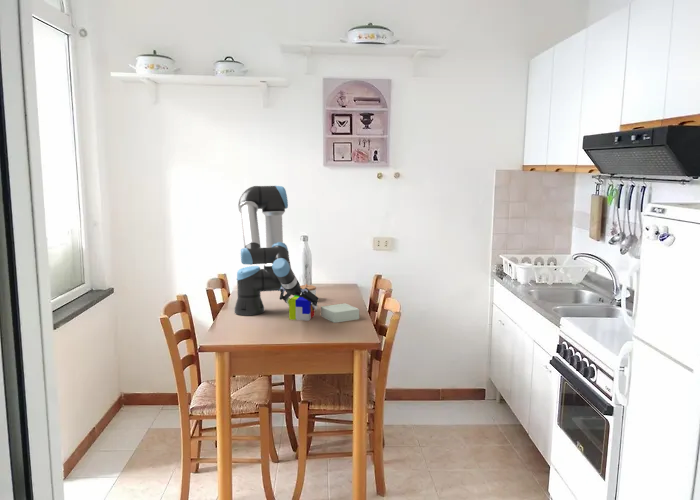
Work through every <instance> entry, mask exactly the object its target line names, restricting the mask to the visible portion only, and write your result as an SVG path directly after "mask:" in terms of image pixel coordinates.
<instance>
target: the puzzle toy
mask: <svg viewBox="0 0 700 500" xmlns="http://www.w3.org/2000/svg"><path fill="white" fill-rule="evenodd" d="M288 315H289V316H288V317H289V319H288V320H289V321H290V320H292V321H310V320H311V319H313V317H314V316H315V310H314V308H313V306H312V304H311V302H310V301H308V300H306V299H305V298H303V297H299V296H296V295H295V296H293V295H292V297H290V299H289V306H288Z"/></svg>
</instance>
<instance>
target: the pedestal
mask: <svg viewBox="0 0 700 500" xmlns="http://www.w3.org/2000/svg"><path fill="white" fill-rule="evenodd" d="M320 317H321V318H323V319H326V320H327V321H329V322H332V323H334V324H335V323H336V324H337V323H342V322H348V321H354V320H360V308H357V307H355V306H352V305H350V304H348V303H339V304H338V303H337V304H332V305H324V306H322V305H321V306H320Z"/></svg>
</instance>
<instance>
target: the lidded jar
mask: <svg viewBox="0 0 700 500" xmlns="http://www.w3.org/2000/svg"><path fill="white" fill-rule="evenodd" d="M300 287H301V288H302V289H305V288H308V290H309V291H310V292H312V293H313V294H314V295H315V296H316V293H317V286H315V285H313V284H307V283H305V284H304V285H301V284H300ZM301 294H302V293H301ZM301 294H300V295H301Z"/></svg>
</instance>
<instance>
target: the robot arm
mask: <svg viewBox="0 0 700 500" xmlns="http://www.w3.org/2000/svg"><path fill="white" fill-rule="evenodd" d="M237 207H238V211H239V212H240V213H239V214H240V216H241V225H242V227H241V228H242V237H243V238H242V239H243V248H241V249H240V262H241V264H243V265H250V266H246V267H245V266H244V267H242V268H240V269H238V270H237V272H236V280H237V282H236V284H237V286H236V287H237V288H236V289H237V299H236V302H235V306H234V314H235V313H236V314H235V315H237V314H238V316H256V315H261V314H264V312H265V305H264V303H263V301H262V297H261V293H262V292H276V291H277V292H280V296H279V301H280V300H281V301H282V300H283V301H284V303H286V304H287V305H288V307H289V299H291V296H292V297H293V296H295V295H296V296H299V297H303V298H305V299H306V300H308V301H310V302H311V304H312V306H313V308H314V311H317V309H318V308H319V307H318V306H319V305H318V302H319V299H320V298H319V297H318V296H317V295H316V294H315V295H314V294H313V293H312V292H310V291H309V290H308V288H305V289H302V288H301V287H300V286H301V284H300V282H299V280H298V279H297V277H296V274H295V273H294V271H293V269H292V266H291V261H290V255H289V249H288V246H287V244H286V243H285V242H284V239H283V237H284V235H283V215H284V214H285V213H286V209H288V207H289V201H288V195H287V190H286V188H285V187H284V186H281V185H253V186H250V187H248V188H247V189H245V190H244V191H243V192H242V194H241V196H240V198H239V199H238V206H237ZM259 209H260V210H261V211H262V212H261V213H262V214H263V215H264V217H265V244H266V247H262V246H261V239H260V231H259V223H258V222H259V220H258V214H257V212H258V211H259ZM259 265H263V268H261V267H260V266H259ZM301 293H302V294H301ZM284 294H285V295H284ZM300 294H301V295H300Z"/></svg>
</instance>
